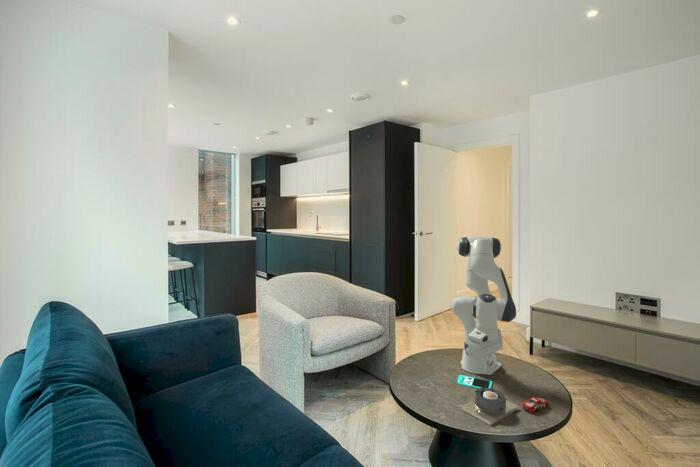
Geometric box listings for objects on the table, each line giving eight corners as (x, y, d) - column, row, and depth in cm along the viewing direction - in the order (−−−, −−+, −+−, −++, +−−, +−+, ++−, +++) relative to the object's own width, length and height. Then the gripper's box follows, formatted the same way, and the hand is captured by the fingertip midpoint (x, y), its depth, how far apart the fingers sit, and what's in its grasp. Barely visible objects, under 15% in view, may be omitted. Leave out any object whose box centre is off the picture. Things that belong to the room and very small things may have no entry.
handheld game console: (459, 376, 184) (459, 374, 184) (492, 383, 177) (492, 380, 177) (456, 385, 176) (456, 382, 176) (490, 392, 168) (490, 389, 168)
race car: (539, 401, 160) (539, 392, 160) (550, 406, 155) (551, 398, 155) (520, 408, 154) (520, 399, 154) (531, 415, 149) (531, 405, 149)
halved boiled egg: (488, 398, 157) (488, 389, 157) (500, 404, 152) (501, 395, 152) (480, 403, 153) (480, 393, 153) (492, 409, 149) (492, 399, 148)
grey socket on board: (489, 395, 164) (489, 381, 164) (518, 409, 153) (518, 394, 153) (461, 409, 153) (461, 394, 153) (490, 425, 142) (490, 409, 141)
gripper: (493, 325, 161) (493, 355, 162) (465, 335, 149) (465, 367, 150) (507, 329, 156) (506, 360, 157) (478, 340, 144) (478, 373, 145)
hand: (486, 363), depth 154 cm, fingers closed
